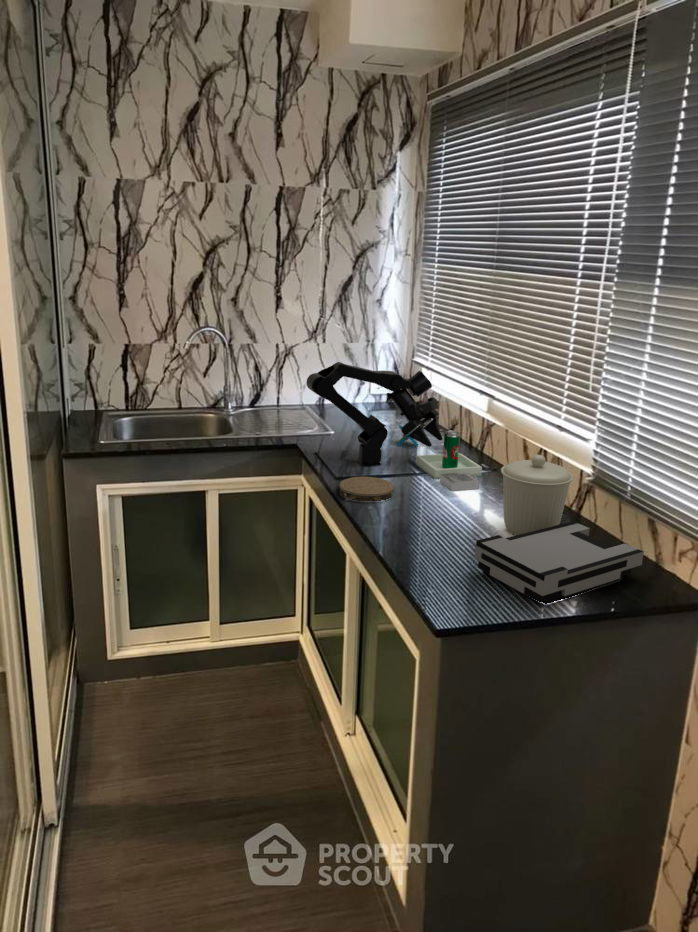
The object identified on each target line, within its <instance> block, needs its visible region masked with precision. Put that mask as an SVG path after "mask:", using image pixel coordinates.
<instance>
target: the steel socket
mask: <svg viewBox="0 0 698 932" xmlns="http://www.w3.org/2000/svg"><path fill="white" fill-rule="evenodd" d="M439 483H441V484H442V485H443V486H444V487H446V488H447V489H449V491H451V492H457V491H458V492H460V491H472V490H473V491H474V490H475V491H476V490H480V480H479V479H477V477H476V478H475V477H473V476H471V475H470V474H468V473H467V472H464V473H449V474H440V479H439Z"/></svg>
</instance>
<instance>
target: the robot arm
mask: <svg viewBox="0 0 698 932" xmlns="http://www.w3.org/2000/svg"><path fill="white" fill-rule="evenodd" d="M342 378H349V379H354V380H358V381H362V382H368V383H372V384H376V385H377V386H380V387H382V388H384V389H386V390H388V391H390V392H387V393H386V400H385V403H387V404H388V403H390V402H391V401H393V403H394V404H395V405H396V407H397V408H398V409H399V410H400V416H401V417H403V416H404V417H405V418H406V420H407V421H408V422H406V423H405V424H404V425H402V429H400V430H401V433H402V434H403V435H404V436H406V435H408V434H409V433H410V434H409V435H408V437H411V438H413V439H414V440H415V441H416V442H419V443H421V444H422V445H425V446H427V447H428V448H430V447H431V446H433V444H432V442H431V439H429V437H428V436H427V434H426V432H428V433H429V434H430V435H432V436H433V437H434V438H436V439H437V440H438V441H442V440H444V437H443V436H442V434H441V431H440V428H439V425H438V422H439V418H440V413H439V411H437V410H438V409H440V407H439V402H440V401H439V400H438V399H437V398H436V397H435V396H431V397H428V398H427V400H426V402H424V403H421V401H419V400H417V401H416V400H415V398H414V397H416V398H419V397H420V396H422V395H423V394H424V393H426V392H427V391H429V390H430V389H431V388H433V385H432V382H431V381H430V380H429V379H428V377H427V376H426V375H425V374H424V372H423V371H421V370H418V371H417V372H416V373H415V374H414V375H412V376H411V377H409V378H408V379H406V378H405V377H403V376H402V375H400V374H398V373H396V372H394V371H392V370H371V369H368V368H363V367H359V366H355V365H351V364H346V363H343V362H341V361H337V362H335V363H333V364H332V365H330V366H328V367H326V368H323V369H321V370H320V371H318V372H314V373H311V374H309V375H308V377H307V378H306V383H305V384H306V387H307V388H308V389H309V390H310V391H311V392H313V393H314V394H315V395H318V396H319V397H321V398H323V399H325V400H327V401H329V402H330V403H332V404H333V405H334V406H335V407H336V408H337V409H338V410H340V411H341V412H343V414H345V415H346V416H347V417H348V418H349V419H351V420H352V421H353V422H355V424H357V425H358V427H359V428H360V429H361V431H362V432H361V433H359V434H358V436H357V440H358V442H359V449H358V451H359V452H358V458H357V459H356V461H357V462H358V464H360V465H361V466H362V467H372V465H374V466H382V449H381V448H382V447H383V444H384V442H385V441H386V439H387V437H388V434H389V433H388V432H389V431H388V429H387V428H386V427H387V425H386V424H385V423H383V422H381V421H380V420H379V419H378V417H376V416H374V415H372V414H370V415H369V417H368V416H366V415H365V414H364V413H363V412H361V411H360V410H359V409H358V408H356V407H355V406H354V405H353V404H352V403H351V402H350V401H348V400H347V399H346V398H345V397H343V395H341V394H340V393H338V391H337V390H336V388H335V387H334V386H335V385H336V384H337V383H338V382H339V381H340V380H341V379H342ZM425 431H426V432H425Z"/></svg>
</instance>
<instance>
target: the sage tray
mask: <svg viewBox="0 0 698 932" xmlns="http://www.w3.org/2000/svg"><path fill="white" fill-rule="evenodd" d="M442 457H443V453H439V454H437V453H435V454H424V455H423V454H421V455H415V465H416V466H417V467H419V468H420V469H421V470H422V471H424V472H425V473H426V474H428V475H429V476H430V477H432V479H434V480H440V474H449V473H464V472H467V473H468V474H470V475H471V476H473V477H474V476H477V477H482V472H483V471H482V470H483V467H482V466H481V465H479V464H478V463H476V462H475V461H473V460H472V459H470V458H468V457H467V456H465V455H464V454H462V453H460V452H459V455H458V467H457V468H446V469H444V468H443V467H442ZM474 478H475V477H474Z"/></svg>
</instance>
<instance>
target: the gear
mask: <svg viewBox="0 0 698 932" xmlns="http://www.w3.org/2000/svg"><path fill="white" fill-rule="evenodd" d="M402 427H403V425H401V424H399V426H398V428H399V429H400V430H401V429H402ZM409 434H410V433H409ZM409 434H408V435H409ZM408 435H406V436H404V434H403V435H402V437H401V438H400V439H399V440H398V443H397V445H398V446H399V447H400V446H401V445H403V443H404V442H405V441H408V440H411V441H410V442H412V443H413V444H414V445H415V446H416V447H418V446H419V443H418V441H417V440H415V439H413V438H411V437H408Z"/></svg>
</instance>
